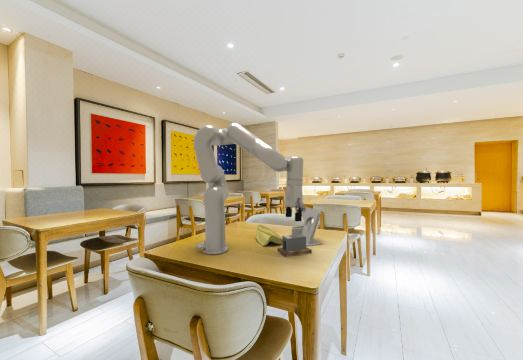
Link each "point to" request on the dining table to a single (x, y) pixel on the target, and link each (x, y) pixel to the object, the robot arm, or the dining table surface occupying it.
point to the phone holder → (308, 226)
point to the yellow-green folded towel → (267, 236)
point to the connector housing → (293, 242)
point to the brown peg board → (293, 252)
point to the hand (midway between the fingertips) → (293, 219)
